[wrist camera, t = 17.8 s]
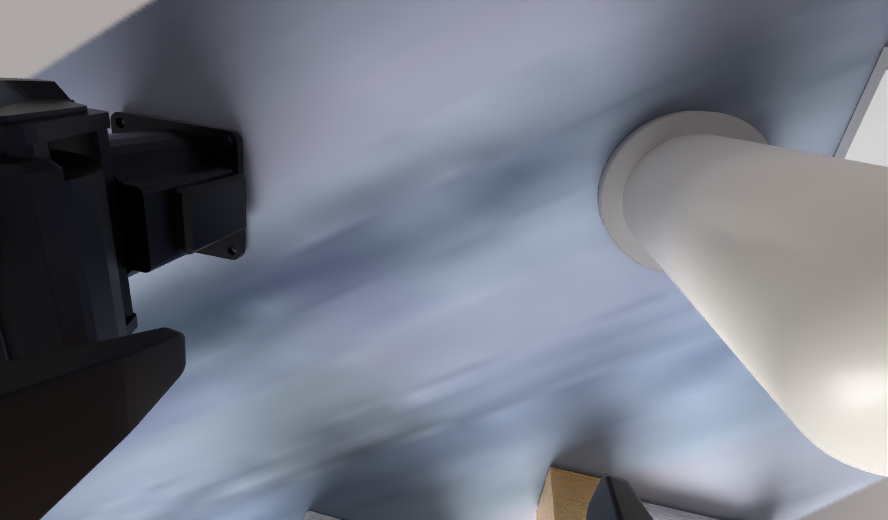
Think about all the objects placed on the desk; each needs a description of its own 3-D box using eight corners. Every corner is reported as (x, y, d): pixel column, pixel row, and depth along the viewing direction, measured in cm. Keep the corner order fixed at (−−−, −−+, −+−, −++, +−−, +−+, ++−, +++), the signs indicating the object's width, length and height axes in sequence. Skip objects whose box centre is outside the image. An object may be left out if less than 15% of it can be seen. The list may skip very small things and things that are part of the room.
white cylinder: (580, 248, 20) (673, 466, 8) (621, 98, 18) (835, 100, 6) (728, 276, 20) (1059, 553, 8) (791, 124, 17) (1410, 183, 5)
